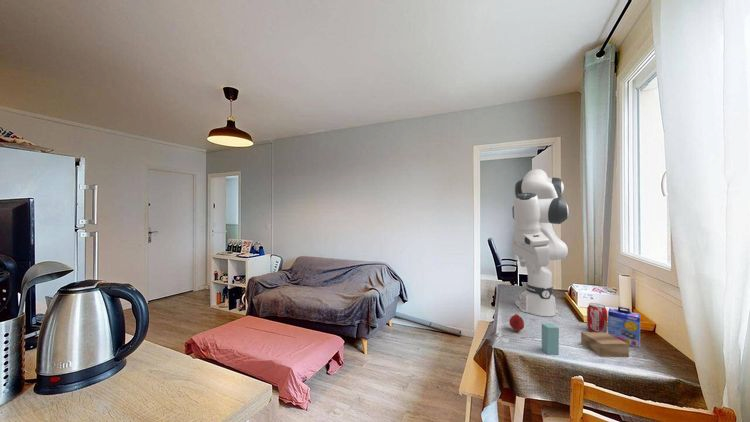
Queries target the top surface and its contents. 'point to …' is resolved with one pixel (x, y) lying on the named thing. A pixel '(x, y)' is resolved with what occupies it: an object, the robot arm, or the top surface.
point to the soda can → (596, 318)
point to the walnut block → (604, 344)
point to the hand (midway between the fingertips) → (529, 270)
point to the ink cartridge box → (624, 325)
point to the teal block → (550, 339)
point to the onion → (516, 322)
